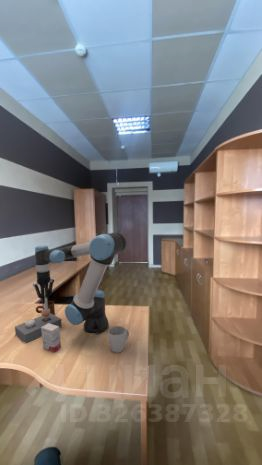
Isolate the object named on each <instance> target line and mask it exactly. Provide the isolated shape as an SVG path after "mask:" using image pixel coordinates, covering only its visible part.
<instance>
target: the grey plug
mask: <svg viewBox="0 0 262 465" xmlns="http://www.w3.org/2000/svg"><path fill="white" fill-rule="evenodd" d="M34 319H35V318H30V319H27V320H25V322H24V323H25V324H26V327H27V328H28V329H29V328H32V327H33V326H34V325H35V320H34Z"/></svg>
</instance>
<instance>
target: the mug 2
mask: <svg viewBox="0 0 262 465" xmlns="http://www.w3.org/2000/svg"><path fill="white" fill-rule="evenodd" d="M107 330H108V331H107V332H108V333H107V336H108V337H107V338H108V344H109V345H108V346H109V348H110V350H111V351H112V352H113V353H120V352H121V353H122V352H123V351H124V350H125V348H126V342H127V340H128V339H129V337H130V331H129V330H128V329H127V328H125V327H124V326H122V325H114V326H111V327H110V328H108V329H107Z"/></svg>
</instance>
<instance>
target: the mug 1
mask: <svg viewBox="0 0 262 465" xmlns="http://www.w3.org/2000/svg"><path fill="white" fill-rule="evenodd" d="M48 308H49V309H50V313H51V314H53V315H55V316H56V314H55V313H56V312H55V311H56V310H55V302H54V301H51V300H49V302H48ZM43 309H45V308H43V305H38V306H36V308H35V312H36V313H37V314H42V310H43Z"/></svg>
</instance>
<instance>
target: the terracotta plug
mask: <svg viewBox="0 0 262 465" xmlns="http://www.w3.org/2000/svg"><path fill="white" fill-rule="evenodd" d="M41 310H42V313H41V316H44V322H46V321H48V320H49V315H50V309H49V308H47V309H43V308H42V309H41Z"/></svg>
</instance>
